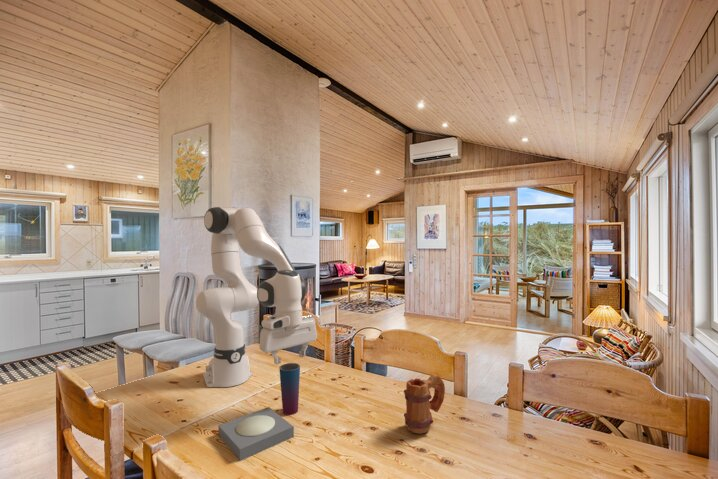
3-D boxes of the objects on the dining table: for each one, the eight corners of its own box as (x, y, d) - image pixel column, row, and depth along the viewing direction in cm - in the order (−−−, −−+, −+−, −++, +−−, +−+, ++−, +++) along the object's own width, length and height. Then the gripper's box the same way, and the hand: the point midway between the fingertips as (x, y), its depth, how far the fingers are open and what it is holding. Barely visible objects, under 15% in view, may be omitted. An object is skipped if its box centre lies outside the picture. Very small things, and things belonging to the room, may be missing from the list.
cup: (296, 417, 111) (295, 371, 111) (276, 415, 112) (275, 369, 112) (303, 407, 117) (302, 363, 117) (285, 405, 119) (284, 362, 119)
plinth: (218, 435, 101) (218, 424, 101) (268, 416, 111) (268, 406, 111) (240, 460, 89) (240, 448, 89) (293, 436, 99) (293, 425, 99)
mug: (413, 440, 96) (412, 387, 97) (397, 427, 104) (396, 377, 104) (452, 427, 103) (452, 377, 103) (435, 415, 110) (434, 368, 111)
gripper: (309, 312, 124) (311, 350, 124) (256, 322, 110) (257, 365, 110) (319, 315, 119) (321, 354, 119) (265, 325, 106) (266, 370, 105)
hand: (290, 359), depth 114 cm, fingers open, 8 cm apart
